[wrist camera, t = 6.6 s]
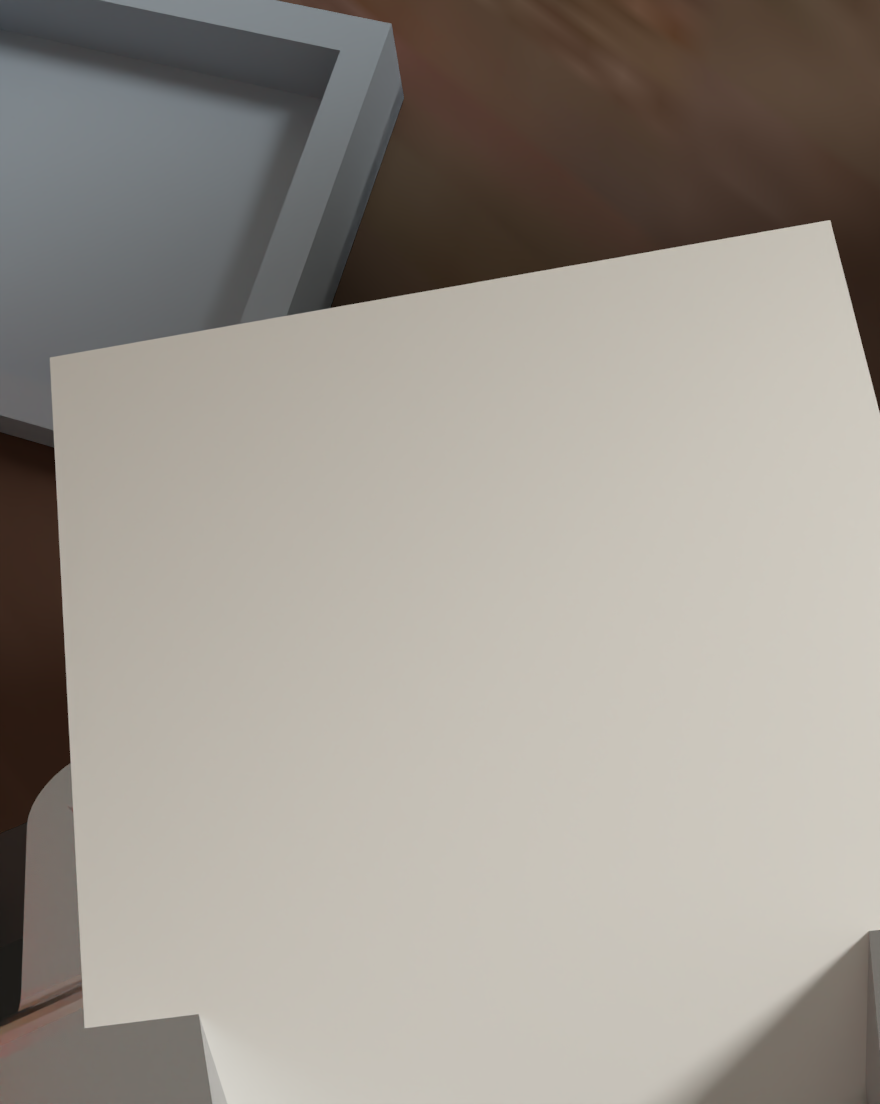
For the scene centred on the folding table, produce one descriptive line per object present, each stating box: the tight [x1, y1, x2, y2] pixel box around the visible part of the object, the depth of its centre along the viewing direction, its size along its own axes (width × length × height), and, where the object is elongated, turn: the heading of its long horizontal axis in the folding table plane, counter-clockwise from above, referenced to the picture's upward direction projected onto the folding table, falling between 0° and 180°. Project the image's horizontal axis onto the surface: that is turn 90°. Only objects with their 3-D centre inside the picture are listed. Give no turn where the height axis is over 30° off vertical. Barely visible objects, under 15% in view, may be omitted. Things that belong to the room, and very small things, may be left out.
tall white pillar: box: [50, 220, 880, 1104], centre depth 10 cm, size 6×5×10 cm
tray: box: [0, 0, 404, 448], centre depth 21 cm, size 14×12×2 cm
